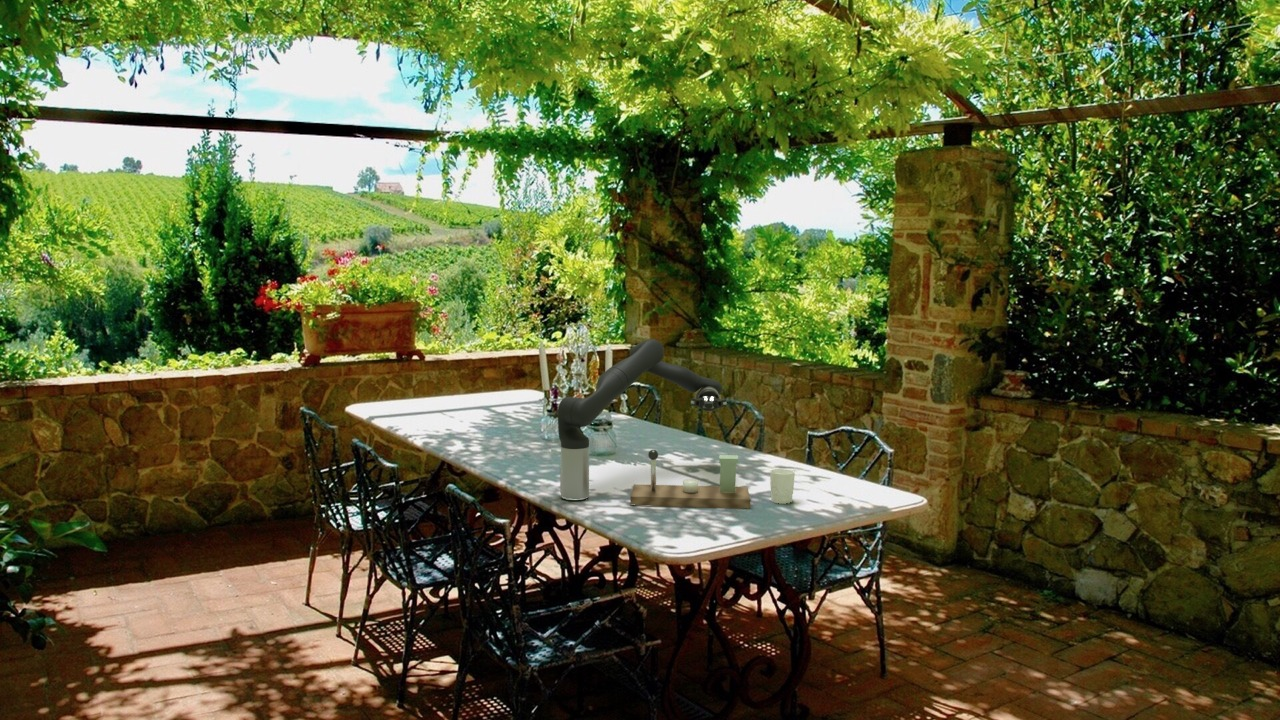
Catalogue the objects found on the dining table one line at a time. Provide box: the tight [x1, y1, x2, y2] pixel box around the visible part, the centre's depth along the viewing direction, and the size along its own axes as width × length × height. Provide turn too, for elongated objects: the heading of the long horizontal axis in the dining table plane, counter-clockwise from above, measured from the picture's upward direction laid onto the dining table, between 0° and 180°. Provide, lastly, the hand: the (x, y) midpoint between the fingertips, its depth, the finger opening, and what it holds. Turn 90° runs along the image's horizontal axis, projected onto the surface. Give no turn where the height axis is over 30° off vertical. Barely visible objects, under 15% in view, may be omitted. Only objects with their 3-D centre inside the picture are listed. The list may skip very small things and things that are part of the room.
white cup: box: [769, 468, 796, 505], centre depth 314 cm, size 8×8×10 cm
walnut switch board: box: [630, 483, 751, 510], centre depth 314 cm, size 38×16×3 cm, turn 87°
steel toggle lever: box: [647, 449, 659, 491], centre depth 310 cm, size 3×3×16 cm
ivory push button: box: [682, 479, 699, 493], centre depth 314 cm, size 5×5×3 cm
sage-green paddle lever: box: [718, 454, 739, 492], centre depth 310 cm, size 6×2×13 cm, turn 87°
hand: (708, 406), depth 324 cm, fingers closed
